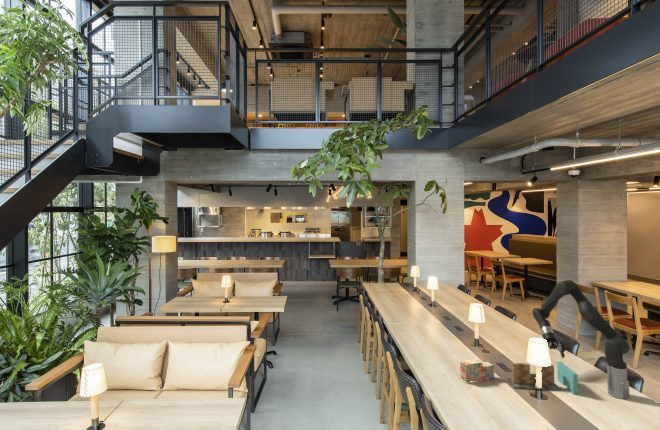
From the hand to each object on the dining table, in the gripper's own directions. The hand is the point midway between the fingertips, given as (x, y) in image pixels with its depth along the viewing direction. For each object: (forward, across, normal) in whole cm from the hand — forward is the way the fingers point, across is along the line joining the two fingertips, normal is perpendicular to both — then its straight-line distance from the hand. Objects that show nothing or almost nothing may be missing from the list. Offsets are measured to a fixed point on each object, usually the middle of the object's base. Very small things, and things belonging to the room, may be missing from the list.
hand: (556, 357), depth 242 cm
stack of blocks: (+16, -52, +4) cm, 55 cm away
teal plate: (+19, 0, 0) cm, 19 cm away
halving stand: (+19, -20, 0) cm, 28 cm away
